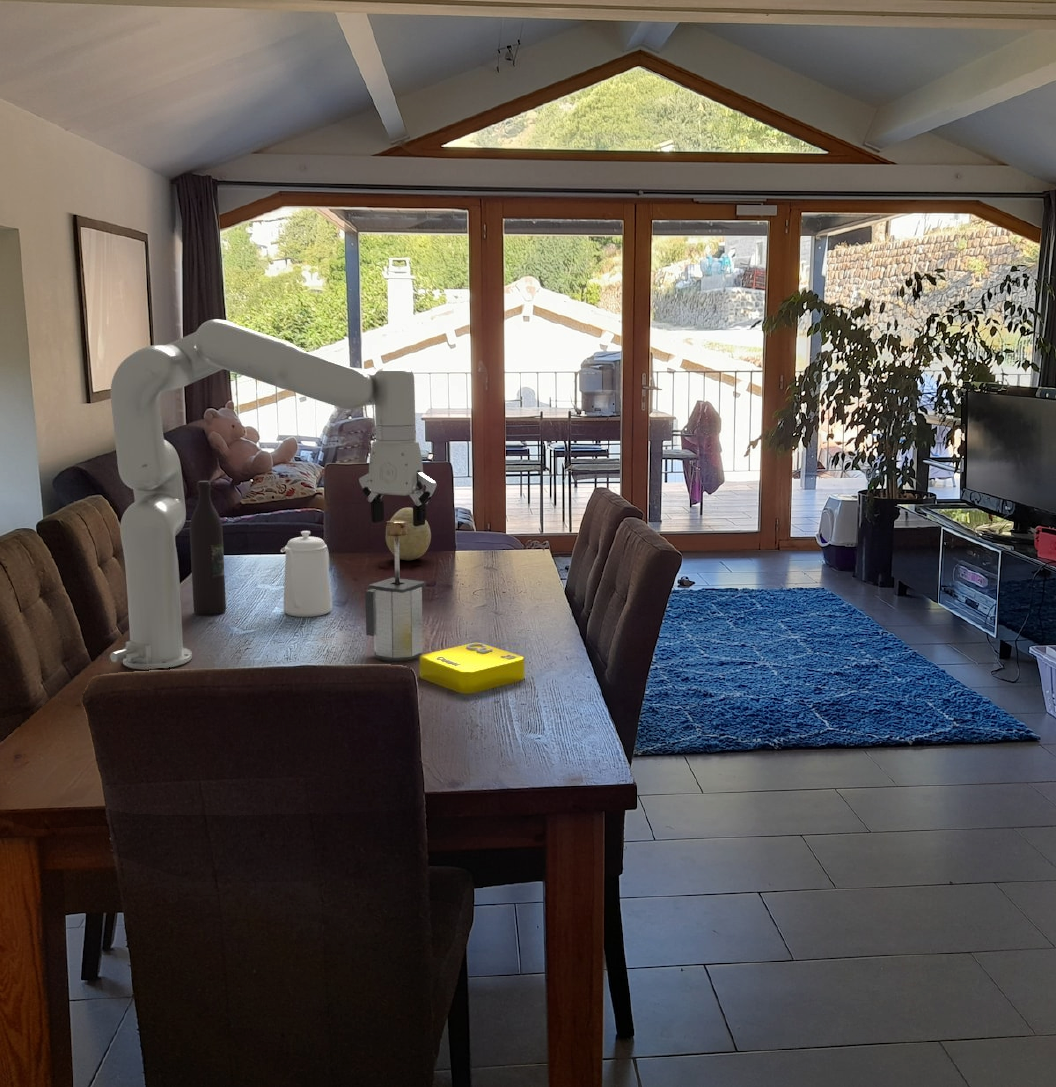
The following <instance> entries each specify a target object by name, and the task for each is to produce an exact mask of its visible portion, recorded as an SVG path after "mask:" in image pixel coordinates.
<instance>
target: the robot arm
mask: <svg viewBox="0 0 1056 1087" xmlns="http://www.w3.org/2000/svg"><path fill="white" fill-rule="evenodd" d="M222 370H226V371H229V372H232V373H234V374H235V373H236V374H238V375H242V376H245V377H248V378H251V379H253V380H257V381H259V382H263V383H264V384H268V385H270V386H274V387H276V388H279V389H282V390H287V391H290V392H293V393H296V394H299V395H302V396H305V397H308V398H310V399H312V400H316V401H320V402H322V403H325V404H328V405H331V406H334V407H337V408H340V409H344V410H348V411H349V410H350V411H356V410H360V409H362V408H363V407H366V406H374V415H375V416H374V418H375V419H374V420H375V427H372V428H371V434H372V435H375V441H372V443H371V447H370V448H371V449H370V453H369V454H370V455H369V463H368V464H369V465H368V472H367V473H366V474H365V475H363V476H361V477H359V478H358V480H359V481H358V482H359V484H360V486H361V489H362V492H363V494H364V495H365V497H367V501H368V502H369V503H370V517H371V523H374V524H375V523H378V522H379V523H380V522H383V521H384V520H385V510H384V508H385V505H384V504H385V502H384V500H383V499H382V497H384V495H390V496H403V497H405V496H406V497H407V496H409V497H410V498H411V500H412V502H414V505H412V508H413V525H414V526H421V525H424V524H425V520H426V521H427V514H426V512H427V510H426V508H427V507H426V505H428V503H429V501H430V500H431V499H432V497H433V496H434V492H435V490H436V488H437V486H438V484H437V481H435V480H433V479H432V478H430V476H427V475H426V474H425V473H424V466H423V464H424V463H423V458H422V457H423V456H422V452H421V447H420V443H419V441H417V432H416V430H417V429H416V397H415V396H416V395H415V393H416V392H415V375H414V372H413V371H411V369H408V368H381V369H368V368H361V367H349V366H346V365H343V364H339V363H337V362H334V361H331V360H328V359H325V358H322V357H320V356H317V355H315V354H311V353H309V352H307V351H305V350H303V349H301V348H300V347H298V346H297V345H295V344H293V343H291V342H289V341H287V340H284V339H280V338H277V337H274V336H271V335H268V334H265V333H261V332H260V331H256V330H253V329H250V328H247V327H244V326H241V325H238V324H236V323H234V322H232V321H230V320H226V319H217V318H215V319H214V318H213V319H209V320H207V321H205V322H203V323H201V325H199V327H198V328H197V330H196V331H195V332H193V333H190V334H188V335H186V336H184V337H182V338H179V339H177V340H175V341H171V342H170V343H167V344H154V345H148V346H145V347H143V348H141V349H138V350H135V351H134V352H133V353H132V354H130V355H129V356H127V357H125V359H124V360H123V361H122V362H121V363H120V364H119V366H118V367H117V368H116V370H115V372H114V374H113V377H112V380H111V384H110V404H111V413H112V414H111V415H112V420H113V422H112V423H113V433H114V435H113V436H114V442H115V451H116V460H117V469H118V470H117V471H118V475H119V477H120V479H121V481H122V483H123V484H124V485H125V486H127V487H128V488H130V489H131V490H132V491H133V496H134V502H133V503H131V504H130V505H129V506H127V508H126V510H124V513H122V517H121V520H120V526H119V530H120V531H119V532H120V533H119V534H120V539H121V540H120V541H121V542H120V543H121V546H122V551H123V557H124V558H123V559H124V565H125V567H124V568H125V579H126V580H125V581H126V592H127V593H126V594H127V595H126V596H127V608H128V625H129V626H128V627H129V640H128V641H126V642H125V647H123V649H121V650H116V651H111V653H110V654H109V659H110V660H111V662H112V663H117V662H119V661H122V664H123V665H124V666H125V667H127V668H130V669H134V670H143V671H144V670H146V671H149V670H150V669H147V668H164V669H168V668H169V667H170V668H174V667H178V666H181V665H185V664H187V663H188V662H190V661H191V659H192V658H193V653H192V651H191V650H190V649H188V648H186V647H184V644H183V643H184V642H183V625H182V624H183V622H182V620H183V619H182V604H181V584H180V571H179V569H180V568H179V559H178V558H179V557H178V552H177V546H176V536H177V535H178V534H180V532H182V529H183V528H184V525H185V523H186V518H187V517H186V516H187V511H186V510H187V509H186V502H185V501H186V500H185V490H184V481H183V473H182V465H181V460H180V457H179V455H178V452H177V450H176V449H175V447H174V446H173V444H171V443H170V442H169V441H168V440H166V439H165V437H164V431H163V418H162V414H161V410H160V405H159V404H160V403H159V399H160V396H161V394H162V393H164V392H170V391H177V390H179V389H182V388H184V387H186V386H188V385H191V384H193V383H195V382H197V381H199V380H202V379H204V378H207V377H208V376H210V375H213V374H215V373H218V372H220V371H222ZM424 487H425V490H424Z"/></svg>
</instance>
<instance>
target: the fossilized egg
mask: <svg viewBox="0 0 1056 1087" xmlns="http://www.w3.org/2000/svg"><path fill="white" fill-rule="evenodd" d="M394 520H400V521H406V522H407V535H404V536H399V560H404V561H413V560H417V559H418V558H420V557H422V556H423V555H424V554H425V553H426V552H427V550H428V549H429V546H430V544H431V539H432V532H431V527H430V524H429V523H428V521H427V519H426V520H425V524H424V525H421V526H414V525H413V507H403V508H400V509H399V510H398V511H396V512H395V514H393V516H392V517H391V518H390V520H389V521H394ZM385 542H386V545H387V547H388V549H389V551H390V552H391V553H392V555H394V556H395V547H394V536H388V535H386V534H385Z"/></svg>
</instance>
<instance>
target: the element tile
mask: <svg viewBox="0 0 1056 1087" xmlns="http://www.w3.org/2000/svg"><path fill="white" fill-rule="evenodd" d="M418 660H419V661H418V662H419V678H421V679H422V680H425V681H427V682H431V683H434V684H436V685H438V686H440V687H444V688H446V689H448V690H452V691H453V692H456V693H460V694H467V695H468V694H476V693H480V692H484V691H487V690H491V689H494V688H497V687H503V686H505V685H509V684H512V683H516V682H520V681H523V680H524V679H525V668H526V667H525V666H526V662H525V660H526V659H525V657H524V656H522V655H519V654H516V653H513V652H510V651H507V650H505V649H504V650H503V649H500V648H498V647H494V646H491V645H488V644H485V643H481V642H471V643H465V644H462V645H458V646H453V647H450V648H444V649H440V650H435V651H432V652H431V651H430V652H428V653H422V655H421V656H420V658H419V659H418Z"/></svg>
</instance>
